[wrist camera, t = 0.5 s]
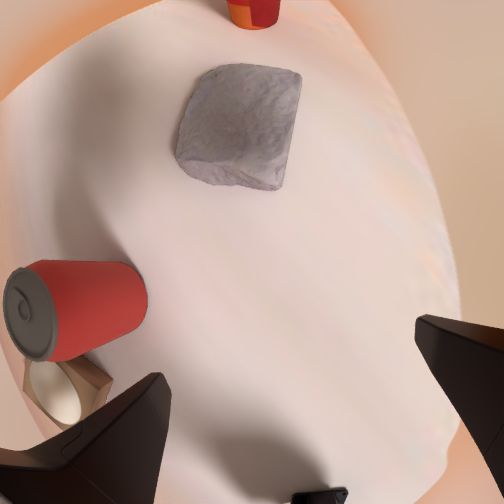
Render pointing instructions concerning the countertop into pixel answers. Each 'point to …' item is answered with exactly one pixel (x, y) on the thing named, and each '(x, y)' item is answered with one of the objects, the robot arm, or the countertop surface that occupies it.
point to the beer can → (71, 307)
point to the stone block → (240, 126)
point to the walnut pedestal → (66, 389)
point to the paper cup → (254, 13)
